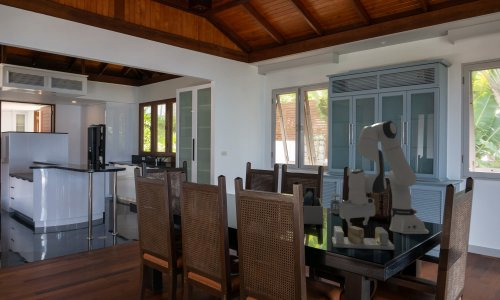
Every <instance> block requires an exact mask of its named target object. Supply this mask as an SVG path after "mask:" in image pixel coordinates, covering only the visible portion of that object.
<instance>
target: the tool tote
mask: <svg viewBox="0 0 500 300" xmlns="http://www.w3.org/2000/svg"><path fill="white" fill-rule="evenodd" d="M302 198H303V202H304V197H302ZM303 207H304V224H303V225H324V210H323V209H324V206H323V203H322V200H321V198H319V197H316V206H303Z"/></svg>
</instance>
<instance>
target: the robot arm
mask: <svg viewBox="0 0 500 300" xmlns="http://www.w3.org/2000/svg"><path fill="white" fill-rule="evenodd" d="M397 133H398V126H397V125H396V123H395V122H393V120H385V121H381V122H377V123H375V124H373V125H372V124H371V125H367V126H363V128H362V129H361V131H360V133H359V138H358V140H357V142H358V143H357V152H358V154H359V155H360V156H361V157H363V158H365V159H368V160H370V161H373V162H374V163H375V168H376V169H375V170H376V171H375V172H376V173H375V174H366V173H365V170H363V169H360V168H355V169H352V170H350V171H349V174H348V190H349V191H348V199H347V200H344V201H340V214H339V218H341V219H343V220H345V221H346V222H347V227H351V226H353V222H351V219H355V218H356V219H357V218H364V220H363V221H362V224H363V226H367V225H368V222H369V220H370V218H369V217H370V216H374V215H375V205H374V204H373V203H374V199H372V198H370V197H369V198H368V197H367V193H370V192H371V193H376V194H380V195H381V194H383V193H384V192H385V191H386V189H387V180H386V173H385V163H384V158H385V162H386V163H387V164H388V166H389V167H390V171H389V172H388V177H387V178H388V180H389V184H390V189H391V195H392V197H391V199H392V204H391V205H392V206H391V210H390V212H391V213H390V215H391V221H390V225H389V231H391V232H393V233H401V234H405V235H423V234H425V235H427V234H428V235H429V233H430V231H429V230H428V229H427V228H426V226H425V223H424V221H423V220H421V219H420V217H418V216H417V215H415V214H418V211H417V210H416V209H414V208H412V194H411V192H410V187H412V186H414V185H416V183H417V180H418V177H417V175H416V173H415V172H414V171H413V169H412V167H411V165H410V163H409V162H408V160H407V158H406V156H405V153H404V151H403V147H402V144H401V142H400V140H399V138H398V136H397ZM379 142H380V145H381V149H382V150H380V149H379V147H378V146H379V145H378V144H379Z"/></svg>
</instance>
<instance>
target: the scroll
mask: <svg viewBox="0 0 500 300" xmlns="http://www.w3.org/2000/svg"><path fill="white" fill-rule="evenodd" d="M366 197H368V198H372V199H374V203H373V204H374V205H375V215H374V216H370V217H369V219H378V220H379V219H380V220H381V219H382V220H383V219H386V217H387V216H386V214H384V194H383V193H381V194H378V193H371V192H367V193H366Z"/></svg>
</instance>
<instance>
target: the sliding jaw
mask: <svg viewBox="0 0 500 300" xmlns="http://www.w3.org/2000/svg"><path fill="white" fill-rule="evenodd" d="M374 238H376V239H377V241H378V242H379V243H380V244H381V245H388V240H389V233H388V231H387V230H386V229H384V228H383V226H381V227H380V226H376V227H375V229H374Z"/></svg>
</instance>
